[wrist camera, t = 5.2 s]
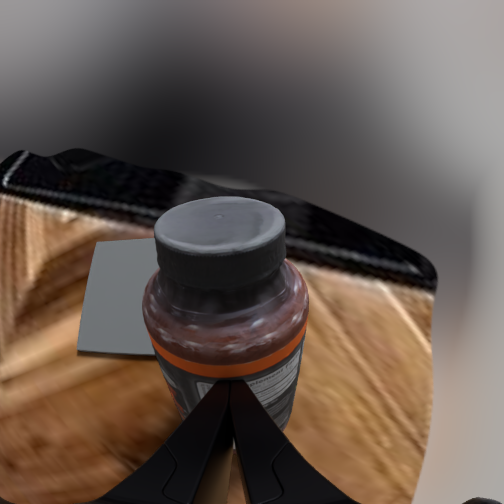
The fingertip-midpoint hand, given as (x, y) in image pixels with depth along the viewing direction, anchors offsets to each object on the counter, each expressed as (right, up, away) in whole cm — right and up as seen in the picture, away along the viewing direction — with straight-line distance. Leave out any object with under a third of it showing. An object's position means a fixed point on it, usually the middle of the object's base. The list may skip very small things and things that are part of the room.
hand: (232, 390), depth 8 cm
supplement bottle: (0, -5, +6) cm, 8 cm away
